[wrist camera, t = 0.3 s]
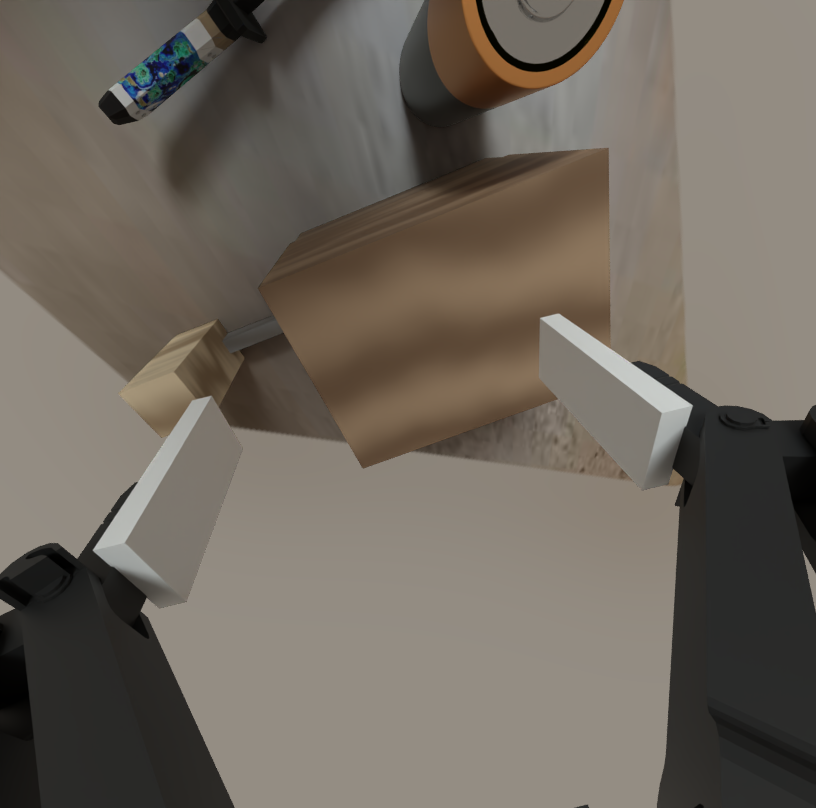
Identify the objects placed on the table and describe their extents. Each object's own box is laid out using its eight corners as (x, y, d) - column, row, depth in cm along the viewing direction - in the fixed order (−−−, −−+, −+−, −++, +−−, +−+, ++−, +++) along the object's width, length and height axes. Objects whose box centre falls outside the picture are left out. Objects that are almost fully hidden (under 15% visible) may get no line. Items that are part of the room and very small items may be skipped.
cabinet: (296, 235, 35) (257, 288, 20) (490, 155, 34) (608, 148, 19) (361, 371, 45) (369, 479, 29) (517, 312, 43) (611, 393, 28)
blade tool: (175, 335, 39) (118, 393, 29) (356, 263, 38) (360, 298, 28) (205, 373, 42) (161, 438, 32) (374, 307, 40) (384, 353, 31)
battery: (472, 132, 33) (600, 99, 16) (395, 121, 32) (448, 73, 15) (490, 22, 29) (679, -165, 13) (402, 5, 28) (484, -229, 11)
